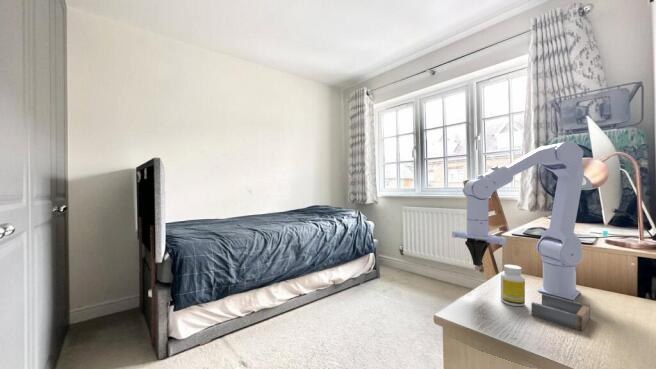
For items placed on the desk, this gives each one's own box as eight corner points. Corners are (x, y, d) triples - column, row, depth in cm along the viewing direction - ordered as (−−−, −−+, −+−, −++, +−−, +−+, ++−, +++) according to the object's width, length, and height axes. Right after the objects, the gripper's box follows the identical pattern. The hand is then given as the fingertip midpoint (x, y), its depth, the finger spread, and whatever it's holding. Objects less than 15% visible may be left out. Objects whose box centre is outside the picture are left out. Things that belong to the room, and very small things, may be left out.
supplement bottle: (529, 307, 69) (529, 270, 69) (506, 306, 70) (505, 269, 70) (518, 299, 75) (518, 264, 75) (497, 297, 76) (497, 263, 76)
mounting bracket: (542, 304, 71) (542, 293, 71) (589, 318, 64) (589, 305, 64) (531, 315, 65) (531, 303, 65) (581, 331, 58) (581, 317, 58)
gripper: (447, 218, 83) (447, 261, 83) (499, 223, 72) (499, 274, 71) (458, 216, 87) (458, 257, 87) (509, 221, 76) (509, 268, 76)
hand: (477, 264), depth 80 cm, fingers closed
